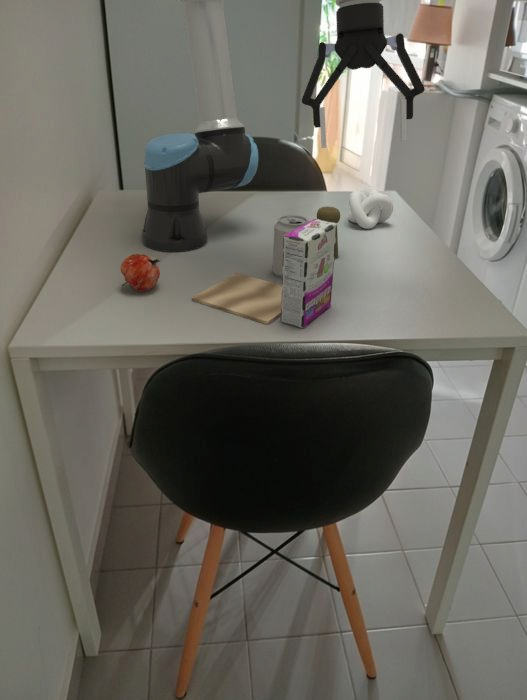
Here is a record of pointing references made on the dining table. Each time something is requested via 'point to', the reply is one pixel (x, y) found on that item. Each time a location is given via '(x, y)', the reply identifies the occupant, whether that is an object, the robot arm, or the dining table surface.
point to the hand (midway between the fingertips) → (363, 144)
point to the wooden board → (244, 298)
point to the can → (281, 229)
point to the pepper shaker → (330, 220)
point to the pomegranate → (140, 271)
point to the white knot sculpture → (369, 207)
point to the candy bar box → (307, 272)
